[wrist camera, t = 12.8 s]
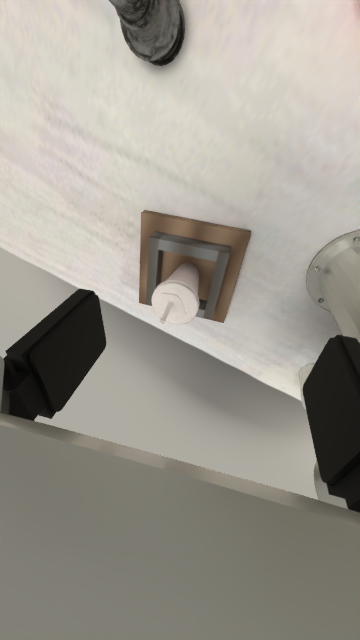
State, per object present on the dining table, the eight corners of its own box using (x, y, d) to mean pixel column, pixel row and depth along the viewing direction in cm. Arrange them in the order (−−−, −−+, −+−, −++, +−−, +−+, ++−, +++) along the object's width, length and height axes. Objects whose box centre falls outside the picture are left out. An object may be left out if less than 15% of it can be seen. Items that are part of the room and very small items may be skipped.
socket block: (250, 230, 35) (251, 240, 31) (224, 318, 45) (222, 333, 41) (144, 210, 36) (133, 217, 33) (141, 298, 46) (133, 311, 43)
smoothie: (187, 246, 37) (163, 290, 26) (216, 275, 38) (204, 329, 27) (161, 271, 40) (129, 320, 29) (188, 297, 42) (167, 353, 31)
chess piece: (153, 83, 28) (104, 53, 18) (122, 17, 25) (48, -57, 16) (197, 41, 25) (167, -19, 16) (168, -37, 23) (112, -164, 13)
